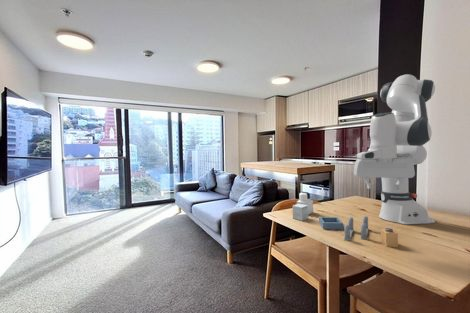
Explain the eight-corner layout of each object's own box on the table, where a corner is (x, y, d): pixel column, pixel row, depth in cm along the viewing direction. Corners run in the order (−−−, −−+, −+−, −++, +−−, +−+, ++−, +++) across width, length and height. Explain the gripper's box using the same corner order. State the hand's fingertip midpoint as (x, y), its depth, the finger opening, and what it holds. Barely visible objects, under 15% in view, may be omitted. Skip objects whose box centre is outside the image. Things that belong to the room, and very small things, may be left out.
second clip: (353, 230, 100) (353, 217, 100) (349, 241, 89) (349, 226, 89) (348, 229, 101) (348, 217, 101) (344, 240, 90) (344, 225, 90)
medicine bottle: (302, 210, 135) (301, 191, 135) (313, 212, 130) (313, 192, 130) (296, 213, 130) (296, 193, 130) (307, 215, 125) (307, 194, 125)
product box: (302, 221, 116) (301, 207, 115) (292, 218, 120) (292, 205, 120) (308, 218, 119) (308, 205, 119) (298, 216, 124) (298, 203, 124)
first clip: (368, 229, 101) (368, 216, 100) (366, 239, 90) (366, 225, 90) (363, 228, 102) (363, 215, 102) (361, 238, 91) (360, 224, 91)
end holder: (337, 223, 110) (337, 217, 110) (343, 229, 102) (343, 223, 101) (319, 222, 112) (318, 216, 112) (323, 229, 103) (322, 222, 103)
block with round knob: (392, 242, 87) (392, 227, 87) (397, 246, 83) (397, 231, 83) (381, 241, 87) (380, 227, 87) (386, 246, 84) (386, 230, 83)
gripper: (409, 153, 86) (409, 188, 87) (352, 154, 91) (352, 187, 91) (418, 153, 80) (418, 191, 81) (357, 154, 85) (357, 189, 85)
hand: (383, 189), depth 86 cm, fingers open, 8 cm apart
